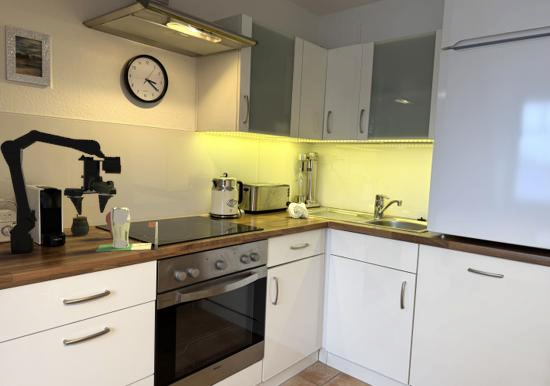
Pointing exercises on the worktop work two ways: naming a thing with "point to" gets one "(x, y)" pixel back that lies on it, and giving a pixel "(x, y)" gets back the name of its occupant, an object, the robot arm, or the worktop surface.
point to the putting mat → (133, 246)
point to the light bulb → (109, 222)
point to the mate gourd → (80, 226)
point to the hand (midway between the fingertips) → (91, 213)
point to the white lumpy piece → (297, 210)
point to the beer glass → (120, 226)
